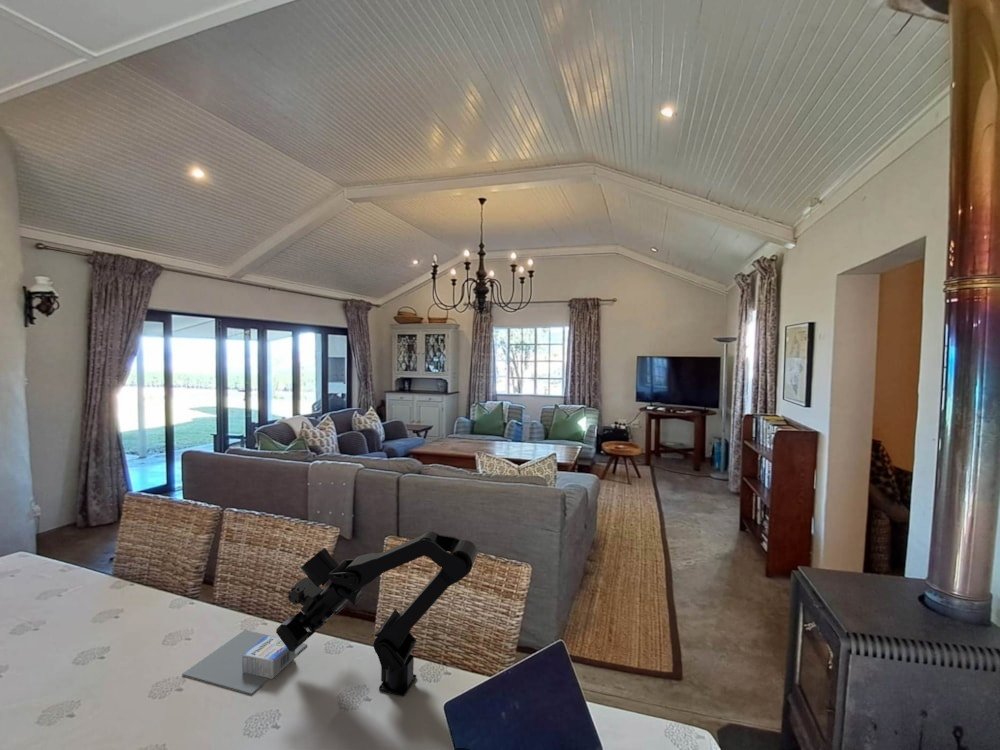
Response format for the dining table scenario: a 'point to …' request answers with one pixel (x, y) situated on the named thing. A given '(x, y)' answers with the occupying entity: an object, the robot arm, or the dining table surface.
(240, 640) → the mat
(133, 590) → the dining table surface
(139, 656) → the dining table surface
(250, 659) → the medicine box
